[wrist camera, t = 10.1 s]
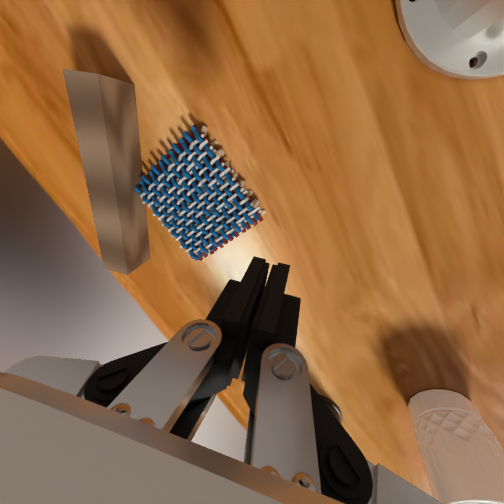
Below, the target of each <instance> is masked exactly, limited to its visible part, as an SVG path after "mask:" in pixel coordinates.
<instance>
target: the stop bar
mask: <svg viewBox="0 0 504 504" xmlns="http://www.w3.org/2000/svg"><path fill="white" fill-rule="evenodd" d="M63 72H64V77H65V82H66V86H67V91H68V96H69V101H70V106H71V111H72V115H73V120H74V125H75V130H76V135H77V140H78V144H79V149H80V154H81V159H82V164H83V168H84V173H85V178H86V183H87V188H88V193H89V197H90V202H91V207H92V212H93V217H94V222H95V226H96V231H97V236H98V241H99V246H100V251H101V255H102V260H103V265H104V268H105V269H109V270H112V271H116V272H120V273H123V274H127V275H128V274H129V273H131V272H132V271H133V270H135V269H136V268H137V267H139V266H140V265H141V264H143V263H144V262H145V261H147V260H148V259H150V252H149V241H148V230H147V219H146V208H145V204H143V203H142V202H143V197H142V199H141V197H140V194H139V193H138V192H136V191H135V185H137V186H138V188H140V189H141V188H142V187H141V185H140V183H139V182H140V181H141V180H142V176H143V175H142V164H141V153H140V142H139V131H138V120H137V109H136V98H135V87H134V84H132V83H128V82H125V81H121V80H118V79H114V78H111V77H108V76H104V75H101V74H97V73H90V72H82V71H75V70H67V69H63Z"/></svg>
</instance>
